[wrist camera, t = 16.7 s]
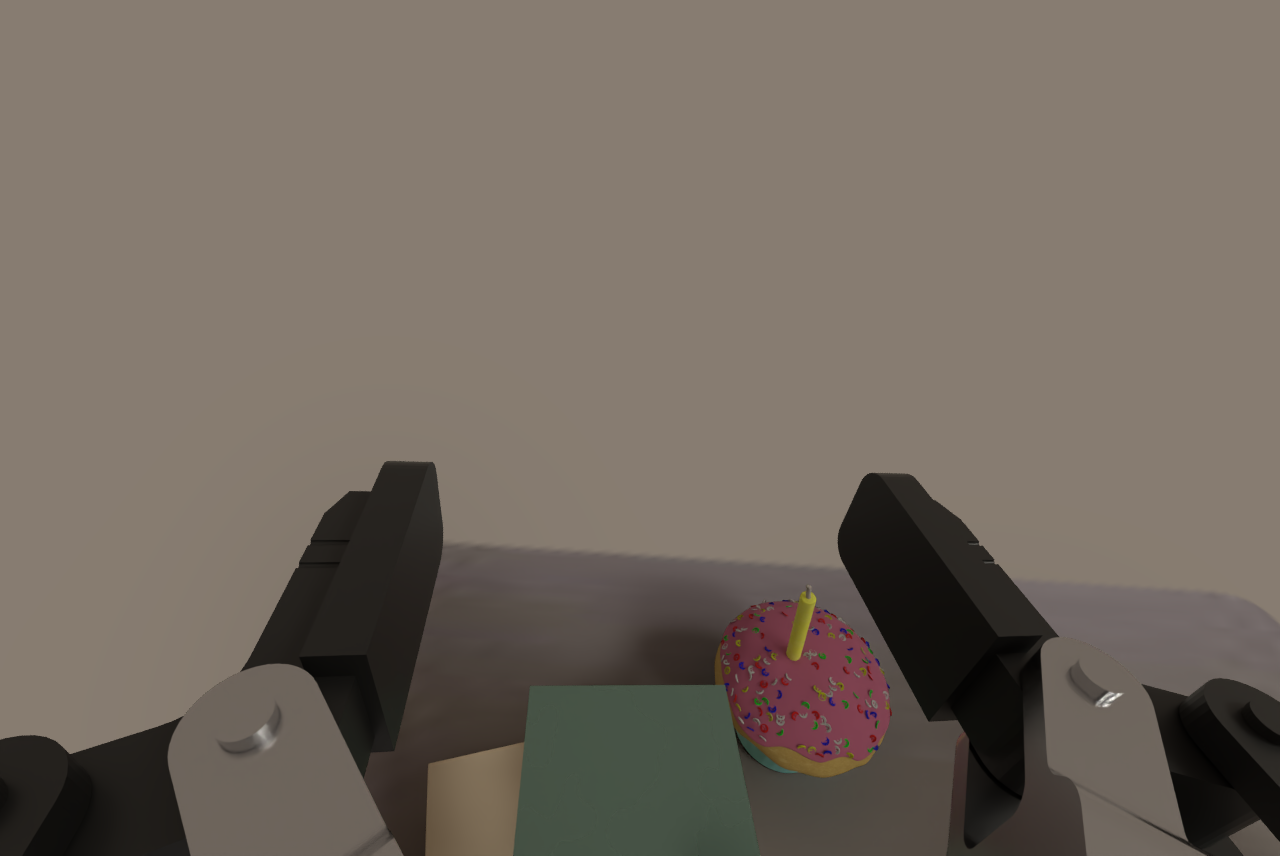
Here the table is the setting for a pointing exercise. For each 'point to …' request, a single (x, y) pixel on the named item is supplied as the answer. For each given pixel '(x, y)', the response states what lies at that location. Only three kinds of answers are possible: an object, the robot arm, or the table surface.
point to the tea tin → (632, 774)
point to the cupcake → (802, 688)
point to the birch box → (474, 803)
